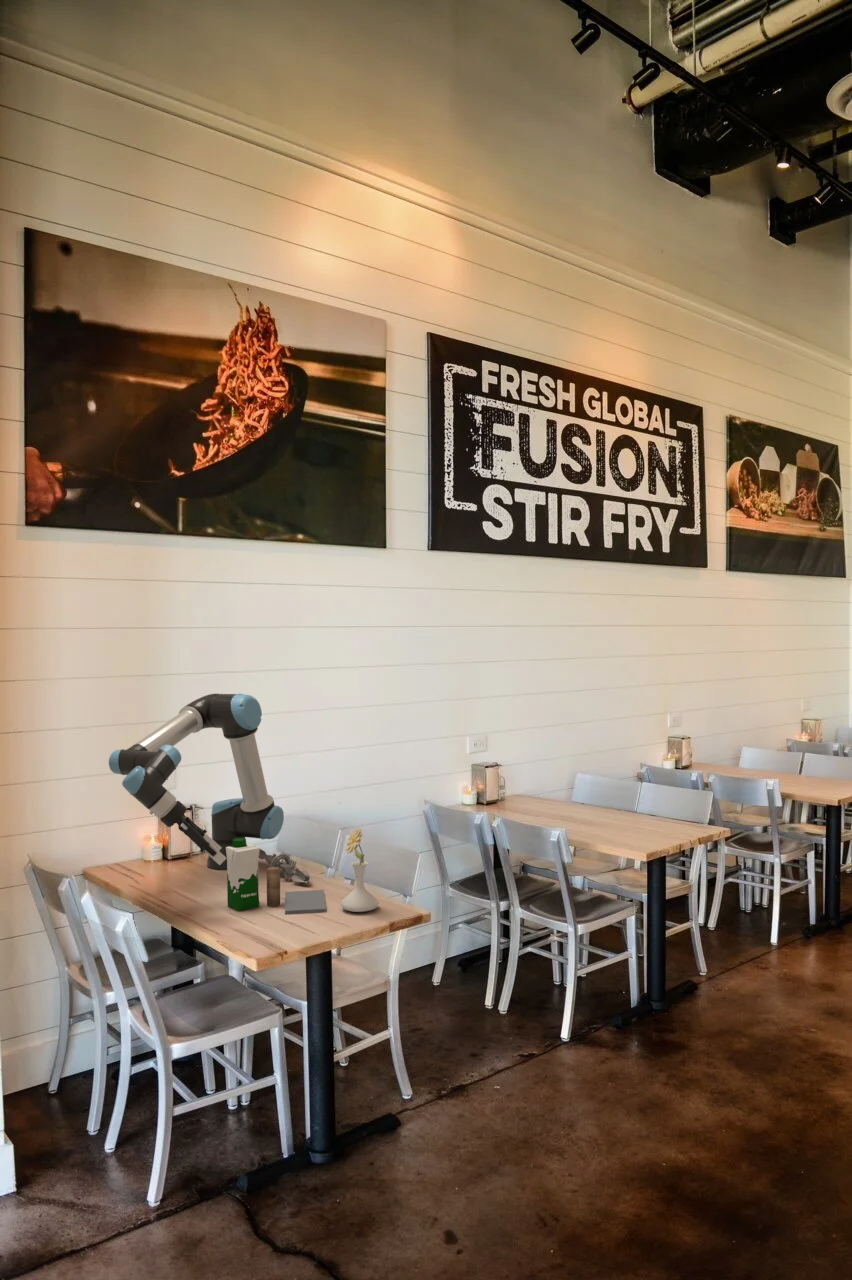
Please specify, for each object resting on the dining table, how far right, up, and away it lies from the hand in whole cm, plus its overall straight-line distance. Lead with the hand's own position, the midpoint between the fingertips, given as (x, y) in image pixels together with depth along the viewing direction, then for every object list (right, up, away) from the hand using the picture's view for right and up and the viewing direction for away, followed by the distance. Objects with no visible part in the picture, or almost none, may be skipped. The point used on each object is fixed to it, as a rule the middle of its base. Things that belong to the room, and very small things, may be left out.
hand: (220, 856), depth 269 cm
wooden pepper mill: (+15, -16, +4) cm, 22 cm away
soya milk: (+6, -16, +3) cm, 18 cm away
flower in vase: (+42, -16, -2) cm, 45 cm away
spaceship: (+12, -16, +37) cm, 42 cm away
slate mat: (+24, -16, +6) cm, 30 cm away
